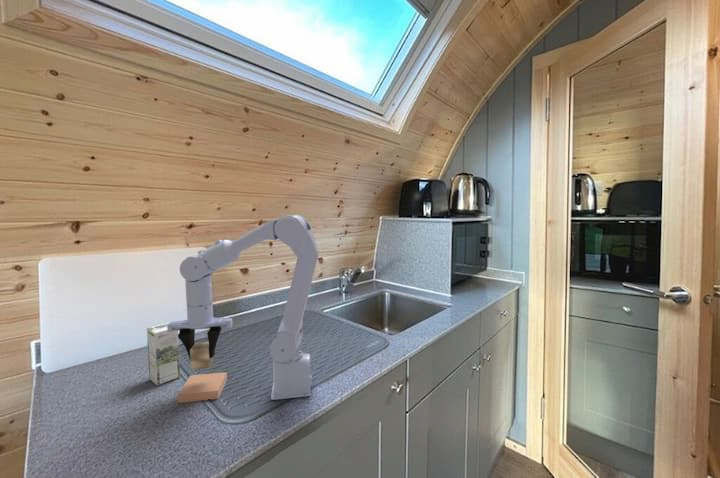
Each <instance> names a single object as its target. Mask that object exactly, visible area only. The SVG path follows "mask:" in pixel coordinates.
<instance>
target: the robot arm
mask: <svg viewBox="0 0 720 478" xmlns="http://www.w3.org/2000/svg"><path fill="white" fill-rule="evenodd" d="M266 240H270V241H276V240H279V241H281V242H282V243H284V244H285V245H287V246H288V247H289V248H290V249H291V250H292V252H293V253H294V254H295V256H296V262H295V266H294V270H293V274H292V279H291V282H290V283H291V284H290V287H289V291H288V295H287V299H286V304H285V307H284V311H283V312H284V313H283V315H282V320H281V322H280V324H279V327H278V330H277V334H276V337H275V338H274V339H273V340H272V342H271V343H270V345H269V353H270V355H271V357H272V374H273V375H272V377H273V378H272V379H273V382H272V388H271V395H270V400H271V401H275V400H285V399H293V398H295V399H296V398H303V397H304V398H305V397H310V396H312V393H311V392H312V383H313V381H312V380H313V379H312V378H313V377H312V376H313V375H311V354H310V353H304V352H303V350H302V349H301V347H300V345H301V343H302V342H303V340H304V339H303V338H304V334H303V329H302V328H303V324H304V322H303V319H304V315H305V310H306V308H307V307H306V306H307V302H308V299H309V294H310V292H311V286H312V283H313V282H312V281H313V279H314V275H315V270H316V267H317V262H318V259H319V256H320V255H319V254H320V251H319V250H320V249H319V247H318V244H317V242H316V239H315V236H314V233H313V227H312V225H311V224H310V223H309V222H308V221H307V219H306V218H305V217H303V216H302V215H300V214H291V215H289V214H287V215H283V216H281V217H279V218H275V219H274V220H270V221H268V222H265V223H263V224H261V225H260V226H258V227H256V228H254V229H252V230H251V231H249V232H247V233H245V234H243V235H242V236H241V237H238V238H237V239H235V240H233V241H232V240H230V239H224V240H222V239H218V240H216V241H214V245H212V246H210V247H208V248H206V249H200V250H198V252H197V253H198V254H197V255H194V256H193V255H192V256H187V257H186V258H185V259H184V260H182V261H181V264H180V265H179V272H180V276H181V277H182V278H183V279H184V281H185V282H184V283H185V295H186V296H185V299H186V316H187V319H182V320H176V321H169V322H167V323H168V324H167V328H168V332H173V331H177V330H178V338H179V340H180V341H181V343H182V345H183V346H184V348H185V349H186V352H187V355H188V357H189V358H188V359H189V360H191V359H190V349H191V348H192V346H193V345H194V344H195V343H196V342H195V337H196V335H195V334H196V333H195V332H196V330H206V329H209V330H208V331H207V333H206V335H207V340H208V342H209V356H210V358H213V359H214V357H215V354H216V353H215V352H216V347H217V342H218V340H219V337H220V334H221V331H222V330H223V328H226V329H231V328H232V327H233V317H228V318H227V317H214V309H213V308H214V307H213V305H214V304H213V289H212V288H213V285H212V274H213V273H215V272H217V271H218V270H221V269H222V268H225V267H226V266H229V265H231V264H232V263H234V262H237V261H238V259H239V257H240V254H241V253H242V252H243V251H246V250H248V249H250V248H252V247H254V246H256V245H258V244H260V243H262V242H265V241H266Z"/></svg>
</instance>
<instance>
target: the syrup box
mask: <svg viewBox="0 0 720 478" xmlns="http://www.w3.org/2000/svg"><path fill="white" fill-rule="evenodd" d="M168 323H169V322H166V323H163V324H158V325H154V326H150V327H147V328H146V338H147V356H148V357H147V358H148V359H147V360H148V373H149V374H148V375H149V376H148V377H149V380H150V381H151V382H153V384H155V385H156V386H157V387H158V386H161V385H164V384H166V383H169V382H171V381H174V380H177V379H180V377H181V368H180V366H181V365H180V344H179V343H180V342H179V340H180V339H179V338H178V334H179V330H177V331H173V332H168V328H167V324H168Z"/></svg>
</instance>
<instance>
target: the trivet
mask: <svg viewBox="0 0 720 478" xmlns="http://www.w3.org/2000/svg"><path fill="white" fill-rule="evenodd" d="M227 380H228V373H227V371H226V372H216V373H215V372H213V373H202V374H192V375H191V374H190V376H189V377H188V379H187V380H186V382H185V383H184V384H183V385H182V388H181V389H180V390H179V392H178V393H177V403H178V404H179V403H188V402H199V401H209V400H208V399H210V400H217V399H218V398H220V397H221V394H222V392H223V389H224V387H225V385H226V383H227Z"/></svg>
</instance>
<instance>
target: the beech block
mask: <svg viewBox="0 0 720 478" xmlns="http://www.w3.org/2000/svg"><path fill="white" fill-rule="evenodd" d="M189 360H190V370H197V369H198V370H201V369H209V368H210V366H211V364H212V363H213V361H214V357H213V358H210V356H209V341H203V342H195V344H194V345H193V346H192V348H191V349H190V359H189Z"/></svg>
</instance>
